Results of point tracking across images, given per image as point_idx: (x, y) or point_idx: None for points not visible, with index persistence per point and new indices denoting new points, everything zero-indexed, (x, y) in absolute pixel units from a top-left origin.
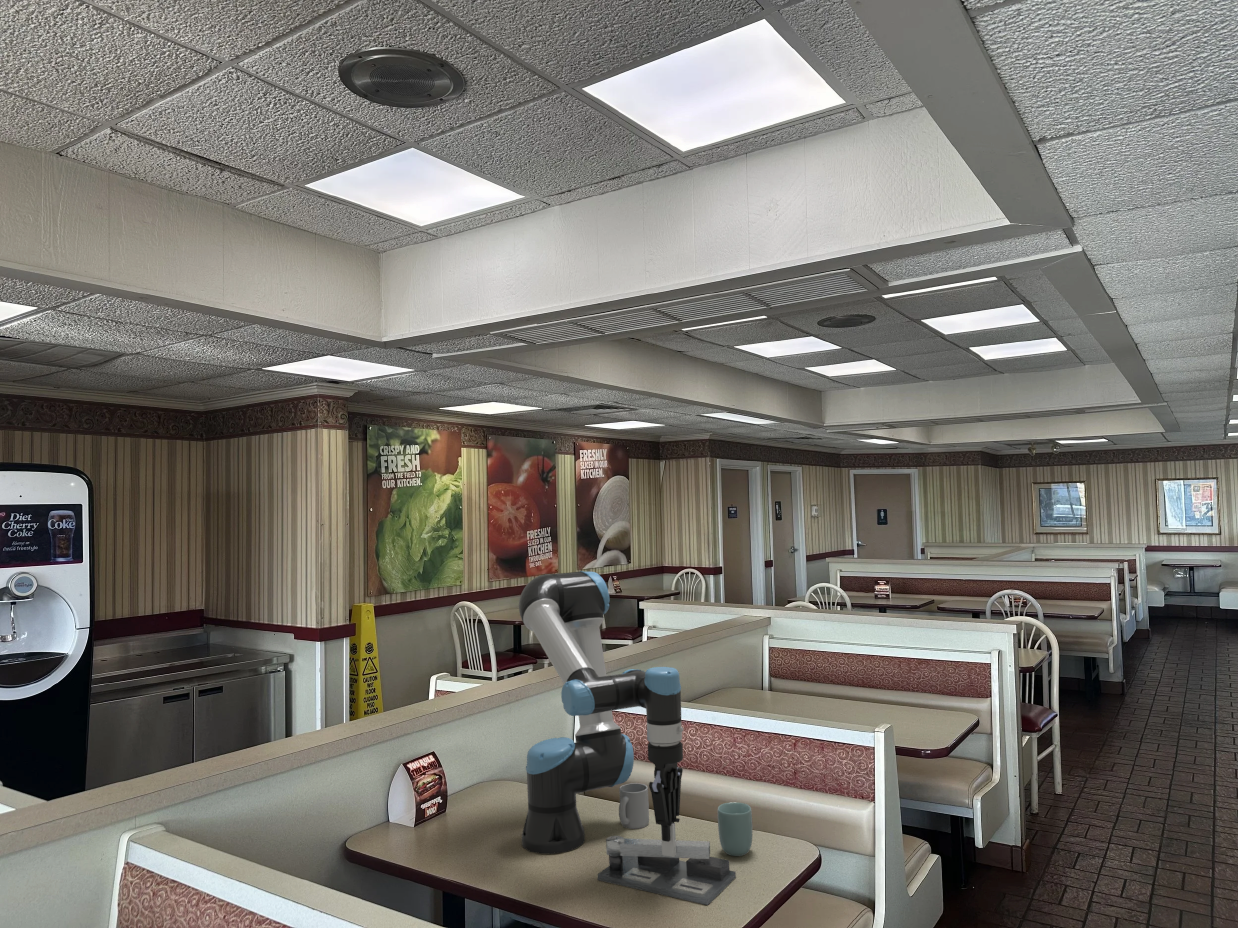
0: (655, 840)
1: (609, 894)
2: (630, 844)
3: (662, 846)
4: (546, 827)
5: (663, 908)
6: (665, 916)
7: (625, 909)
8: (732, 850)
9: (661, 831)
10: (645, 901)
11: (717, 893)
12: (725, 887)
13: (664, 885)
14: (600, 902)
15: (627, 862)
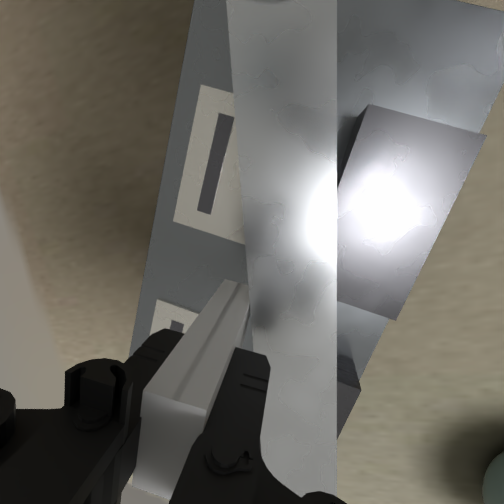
0: (317, 237)
1: (110, 72)
2: (232, 73)
3: (212, 299)
4: None
5: (80, 276)
6: (43, 288)
7: (38, 165)
8: (485, 487)
9: (175, 346)
10: (101, 216)
11: None
12: None
13: (171, 270)
14: (49, 60)
15: (358, 59)
